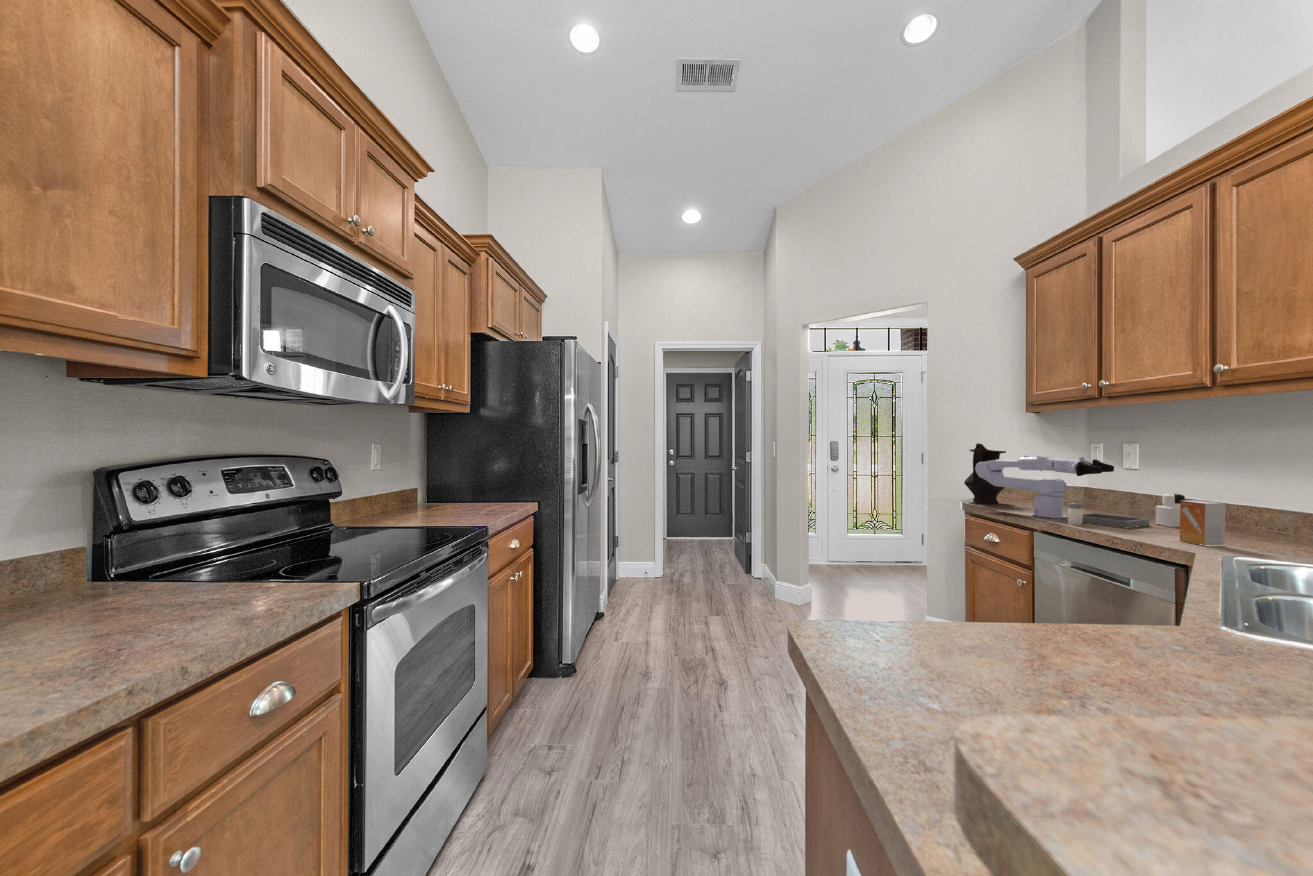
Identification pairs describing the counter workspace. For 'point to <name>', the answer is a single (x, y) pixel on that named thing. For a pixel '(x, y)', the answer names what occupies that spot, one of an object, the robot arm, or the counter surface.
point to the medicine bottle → (1169, 510)
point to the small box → (1202, 522)
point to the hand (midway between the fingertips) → (1107, 469)
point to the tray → (1114, 520)
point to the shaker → (1075, 513)
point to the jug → (978, 485)
